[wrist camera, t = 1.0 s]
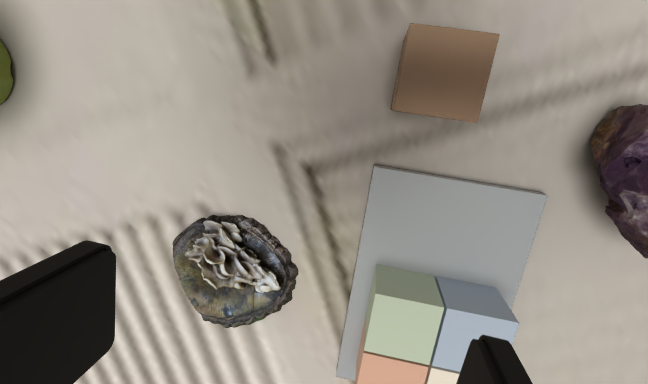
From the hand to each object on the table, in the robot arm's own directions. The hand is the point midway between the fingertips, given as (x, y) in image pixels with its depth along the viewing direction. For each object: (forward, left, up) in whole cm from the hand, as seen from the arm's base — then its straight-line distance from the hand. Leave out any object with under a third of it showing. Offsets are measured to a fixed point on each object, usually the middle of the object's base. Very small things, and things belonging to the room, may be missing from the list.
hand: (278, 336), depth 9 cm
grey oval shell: (+11, -9, -22) cm, 26 cm away
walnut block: (-8, +5, -21) cm, 23 cm away
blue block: (+9, +11, -20) cm, 25 cm away
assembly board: (+9, +9, -21) cm, 24 cm away
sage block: (+9, +6, -20) cm, 23 cm away
